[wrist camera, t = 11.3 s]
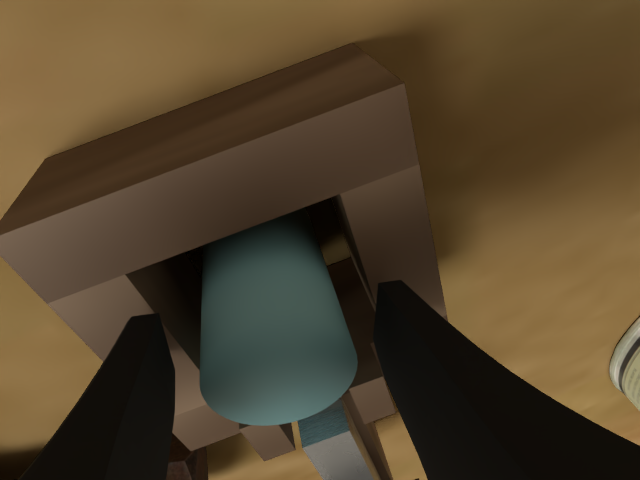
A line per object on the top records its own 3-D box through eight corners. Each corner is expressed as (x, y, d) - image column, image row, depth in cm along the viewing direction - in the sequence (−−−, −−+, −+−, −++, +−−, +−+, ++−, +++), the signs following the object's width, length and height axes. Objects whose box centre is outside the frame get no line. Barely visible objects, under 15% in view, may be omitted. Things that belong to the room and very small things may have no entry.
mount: (44, 159, 12) (-42, 278, 8) (352, 42, 12) (427, 101, 8) (274, 460, 23) (288, 579, 19) (438, 400, 23) (490, 505, 19)
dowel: (179, 236, 14) (164, 389, 10) (259, 163, 14) (285, 291, 9) (258, 291, 16) (277, 442, 12) (332, 230, 16) (386, 365, 11)
